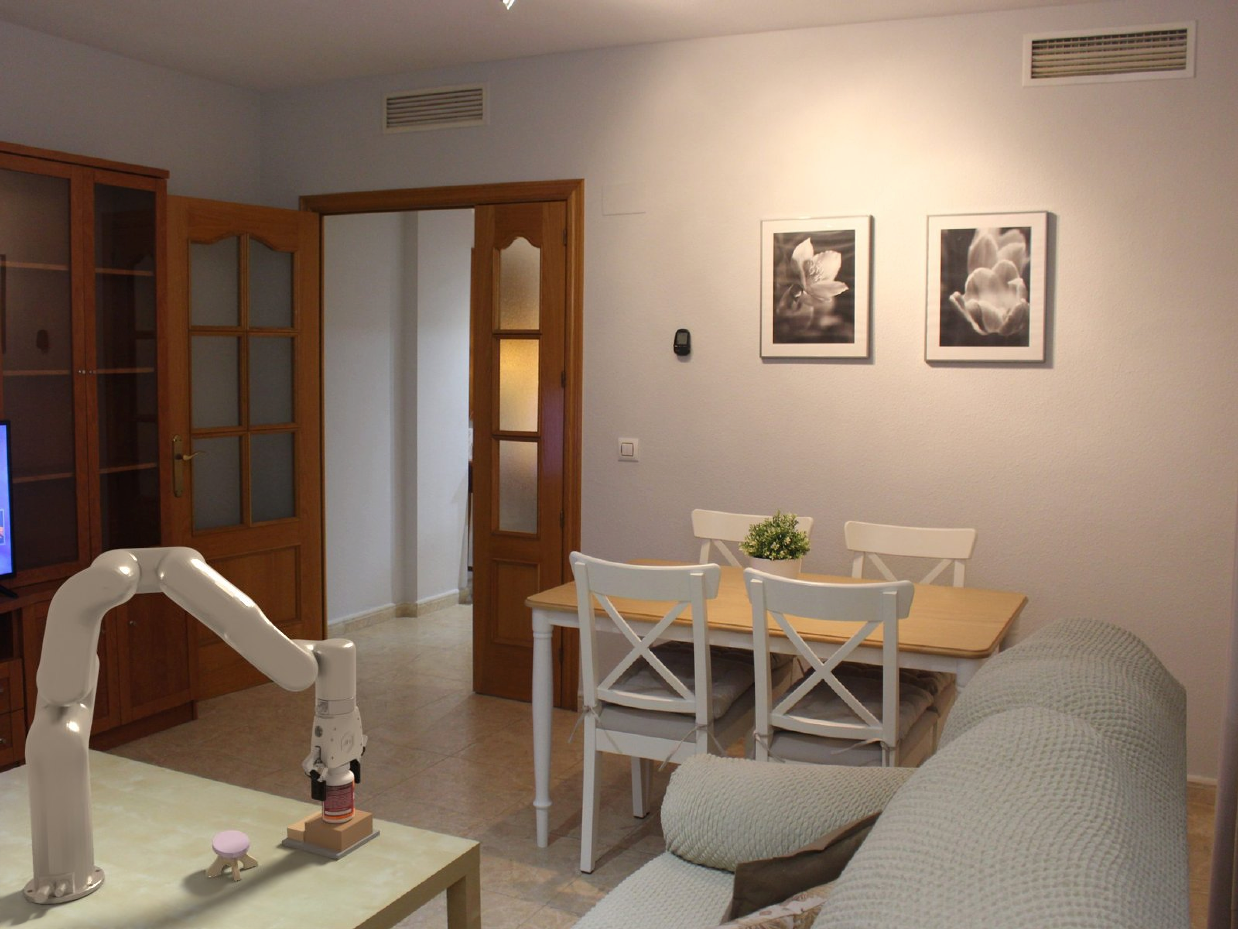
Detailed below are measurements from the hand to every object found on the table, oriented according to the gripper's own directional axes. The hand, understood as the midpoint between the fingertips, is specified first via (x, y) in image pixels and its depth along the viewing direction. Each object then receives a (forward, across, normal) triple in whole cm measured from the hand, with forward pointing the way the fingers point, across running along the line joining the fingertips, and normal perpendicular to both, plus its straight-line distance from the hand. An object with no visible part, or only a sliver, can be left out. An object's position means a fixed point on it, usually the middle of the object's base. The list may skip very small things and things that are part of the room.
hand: (336, 790), depth 204 cm
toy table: (+11, -17, +9) cm, 22 cm away
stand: (+10, 0, +2) cm, 10 cm away
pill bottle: (+6, 0, 0) cm, 6 cm away
